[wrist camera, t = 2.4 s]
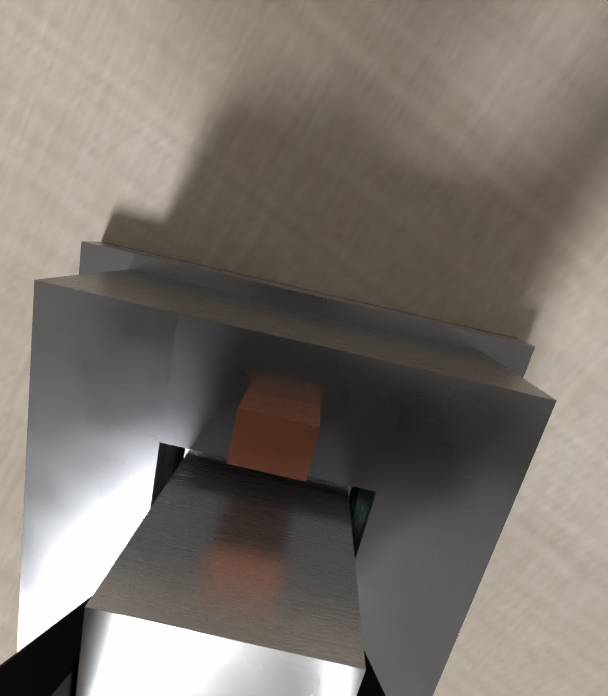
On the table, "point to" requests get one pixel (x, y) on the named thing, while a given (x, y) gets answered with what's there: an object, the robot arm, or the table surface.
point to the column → (230, 591)
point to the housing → (273, 434)
